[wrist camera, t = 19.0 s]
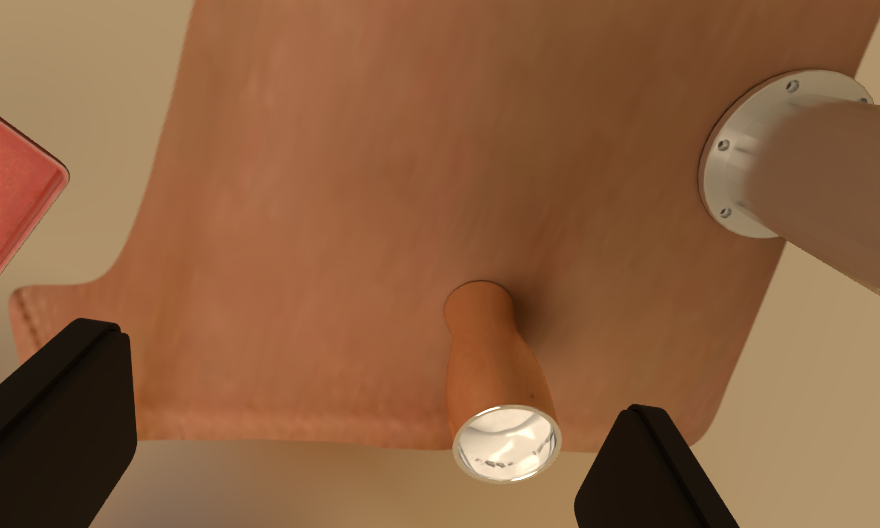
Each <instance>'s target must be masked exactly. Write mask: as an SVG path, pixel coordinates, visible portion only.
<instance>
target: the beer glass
mask: <svg viewBox="0 0 880 528" xmlns="http://www.w3.org/2000/svg"><path fill="white" fill-rule="evenodd" d="M444 318H445V322H446V325H447V327H448V330H449V332H450V334H451V347H450V352H449V358H448V364H447V370H446V380H445V402H446V411H447V419H448V425H449V431H450V435H451V440H452V446H453V455H454V458H455V461H456V463H457V464H458V466H459V467H460V468H461V469H462V470H463V471H464V472H465V473H466V474H468V475H469V476H471V477H473V478H475V479H477V480H480V481H483V482H487V483H494V484H509V483H516V482H520V481H524V480H527V479H530V478H532V477H534V476H536V475H538V474H540V473H541V472H543V471H544V470H545V469H547V468H548V467H549V466H550V465H551V464H552V463H553V462H554V460H555V459H556V457H557V456H558V454H559V452H560V449H561V445H562V435H561V431H560V428H559V425H558V421H557V417H556V412H555V408H554V404H553V400H552V397H551V393H550V390H549V387H548V384H547V381H546V379H545V376H544V374H543V371H542V369H541V367H540V365H539V363H538V361H537V359H536V358H535V356H534V354H533V352H532V351H531V349H530V348H529V346H528V345H527V343H526V342H525V340H524V339H523V337H522V336H521V335H520V333H519V331H518V330H517V328H516V326H515V323H514V305H513V301H512V299H511V297H510V295H509V294H508V293H507V292H506V290H504V289H503V288H502V287H501V286H499V285H497V284H495V283H492V282H487V281H475V282H470V283H467V284H464V285H462V286H461V287H459V288H457V289H456V290H455V291H454V292H453V293H452V294H451V295H450V296H449V298H448V300H447V302H446V304H445V308H444Z"/></svg>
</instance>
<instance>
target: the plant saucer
mask: <svg viewBox="0 0 880 528" xmlns="http://www.w3.org/2000/svg"><path fill="white" fill-rule="evenodd" d="M69 180H70V174H69V171H68V169H67V168H66V166H65V165H64V164H63V163H62V162H61V161H60V160H58V159H57V158H56V157H54V156H53V155H51V154H50V153H49V152H48V151H46V150H45V149H44V148H42V147H41V146H40V145H38V144H37V143H35V142H34V141H33V140H31V139H30V138H29V137H27V136H26V135H24V134H23V133H22V132H20V131H19V130H17V129H16V128H15V127H13V126H12V125H11V124H9V123H8V122H6V121H5V120H4V119H2V118H1V117H0V274H1V273H2V272H3V270H4V269H5V268H6V266H7V265H8V263H9V262H10V261H11V260H12V258H13V257H14V255H15V254H16V253H17V251H18V250H19V249H20V247H21V246H22V245H23V243H24V242H25V241H26V239H27V238H28V237H29V235H30V234H31V232H32V231H33V230H34V229H35V227H36V226H37V225H38V223H39V222H40V220H41V219H42V217H43V216H44V215H45V214H46V212H47V211H48V209H49V208H50V207H51V205H52V204H53V203H54V201H55V200H56V199H57V198H58V197H59V195H60V194H61V192H62V191H63V190H64V188H65V187H66V185H67V184H68V182H69Z"/></svg>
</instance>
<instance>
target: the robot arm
mask: <svg viewBox="0 0 880 528" xmlns="http://www.w3.org/2000/svg"><path fill="white" fill-rule="evenodd" d="M698 184H699V192H700V196H701V199H702V203H703V204H704V206H705V208H706V210H707V211H708V213H709V214H710V215H711V216H712V217H713V218H714V219H715V220H716V221H717V222H718V223H719V224H721V225H722V226H723V227H725V228H726V229H728V230H730V231H732V232H734V233H736V234H738V235H741V236H745V237H750V238H774V237H780V236H781V237H782V238H784V239H786V240H787V241H789V242H791V243H792V244H794V245H796V246H797V247H799V248H801V249H802V250H804V251H806V252H808V253H809V254H811V255H813V256H814V257H816V258H818V259H819V260H821V261H822V262H824V263H826V264H828V265H829V266H831V267H833V268H834V269H836V270H838V271H839V272H841V273H843V274H844V275H846V276H848V277H850V278H851V279H853V280H854V281H856V282H858V283H859V284H861V285H863V286H864V287H866V288H868V289H869V290H871V291H873V292H874V293H876V294H878V295H880V105H874V102H873V99H872V98H871V96H870V95H869V94H868V92H867V91H866V89H865V88H864V87H863V86H862V85H861V84H859V83H858V82H857V81H856V80H855V79H853V78H851V77H849V76H846V75H844V74H842V73H839V72H834V71H827V70H818V69H803V70H797V71H791V72H787V73H784V74H782V75H779V76H776V77H773V78H771V79H769V80H767V81H765V82H763V83H761V84H760V85H758V86H756V87H754V88H753V89H752V90H750V91H749V92H748V93H746V94H745V95H744V96H742V97H741V98H740V99H738V100H737V101H736V102H735V104H734V105H733V106H732V107H731V108H730V109H729V110H728V111H727V112H726V113H725V114H724V115H723V117H722V118H721V119H720V121H719V122H718V123H717V125H716V126H715V127H714V129H713V131H712V133H711V135H710V137H709V139H708V140H707V142H706V144H705V147H704V150H703V153H702V156H701V159H700V165H699V172H698ZM136 446H137V432H136V418H135V405H134V391H133V377H132V363H131V349H130V339H129V336H128V334H126V333H121V330H120V327H119V325H118V324H116V323H111V322H105V321H98V320H92V319H86V318H78V319H76V320H74V321H72V322H71V323H70V324H69V325H68V326H66V327H65V328H64V329H63V330H62V331H61V332H60V333H58V334H57V335H56V336H55V337H54V338H53V339H51V340H50V341H49V342H48V343H47V344H46V345H45V346H43V347H42V348H41V349H40V350H39V351H38V352H36V353H35V354H34V355H33V356H32V357H31V358H30V359H28V360H27V361H26V362H25V363H24V364H23V365H21V366H20V367H19V368H18V369H17V370H16V371H15V372H13V373H12V374H11V375H10V376H9V377H8V378H7V379H5V380H4V381H3V382H2V383H1V384H0V528H88V527H89V526H90V524H91V522H92V521H93V519H94V518H95V516H96V515H97V513H98V512H99V510H100V508H101V507H102V506H103V504H104V502H105V501H106V499H107V498H108V496H109V495H110V493H111V492H112V490H113V489H114V487H115V486H116V484H117V483H118V481H119V480H120V478H121V476H122V475H123V473H124V472H125V470H126V469H127V467H128V466H129V464H130V462H131V461H132V459H133V456H134V454H135V451H136ZM574 511H575V516H576V520H577V523H578V526H579V528H740V527H739V526H738V524H737V523H736V521H735V519H734V518H733V516H732V515H731V513H730V512H729V510H728V508H727V507H726V505H725V504H724V502H723V500H722V499H721V498H720V496H719V494H718V493H717V491H716V489H715V488H714V486H713V485H712V483H711V481H710V480H709V478H708V477H707V475H706V474H705V472H704V470H703V469H702V467H701V466H700V464H699V462H698V461H697V459H696V458H695V456H694V455H693V453H692V451H691V450H690V448H689V447H688V445H687V443H686V442H685V440H684V439H683V437H682V436H681V434H680V432H679V431H678V429H677V428H676V426H675V424H674V423H673V421H672V420H671V418H670V417H669V415H668V414H667V412H666V411H665V410H664V409H662V408H658V407H652V406H645V405H639V404H632V405H631V406H629V407H628V409H627V410H623V411H621V412H620V414H619V415H618V417H617V419H616V421H615V423H614V425H613V427H612V428H611V430H610V432H609V434H608V436H607V438H606V440H605V442H604V444H603V446H602V447H601V449H600V451H599V453H598V455H597V457H596V459H595V461H594V463H593V465H592V466H591V468H590V470H589V472H588V474H587V476H586V478H585V480H584V482H583V484H582V486H581V487H580V489H579V491H578V493H577V495H576V498H575V502H574Z"/></svg>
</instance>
